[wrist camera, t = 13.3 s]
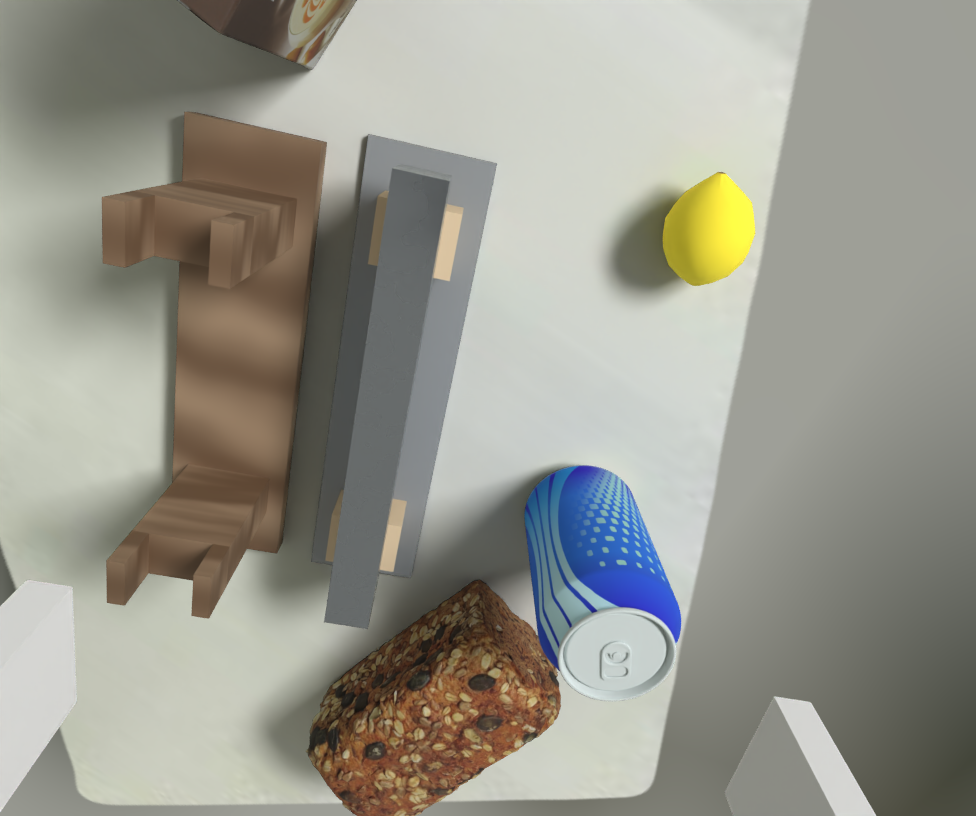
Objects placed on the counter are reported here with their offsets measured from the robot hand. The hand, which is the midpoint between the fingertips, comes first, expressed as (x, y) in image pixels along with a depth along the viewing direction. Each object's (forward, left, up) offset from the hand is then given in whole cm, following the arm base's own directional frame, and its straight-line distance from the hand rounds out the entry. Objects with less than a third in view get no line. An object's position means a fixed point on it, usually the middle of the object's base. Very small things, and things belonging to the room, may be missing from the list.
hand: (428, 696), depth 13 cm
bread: (+33, +4, -35) cm, 48 cm away
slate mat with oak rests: (+8, -4, -35) cm, 36 cm away
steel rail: (+8, -4, -31) cm, 32 cm away
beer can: (+15, +12, -35) cm, 40 cm away
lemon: (-7, +14, -35) cm, 38 cm away
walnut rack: (+8, -14, -35) cm, 38 cm away
